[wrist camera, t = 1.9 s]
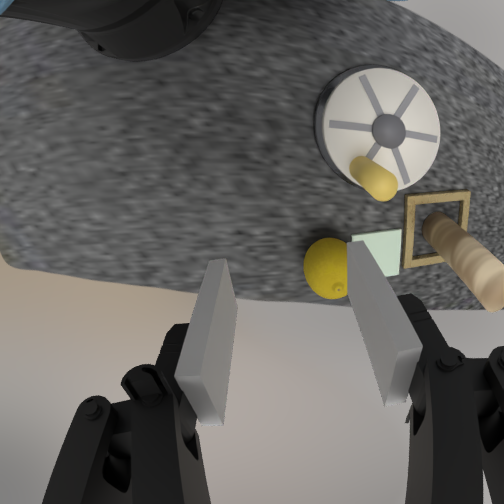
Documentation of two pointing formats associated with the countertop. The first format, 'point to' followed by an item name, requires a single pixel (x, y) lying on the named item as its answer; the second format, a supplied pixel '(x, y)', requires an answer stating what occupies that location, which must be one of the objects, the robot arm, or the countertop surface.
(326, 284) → the lemon
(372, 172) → the handwheel
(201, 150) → the countertop surface
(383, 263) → the coaster
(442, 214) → the dowel
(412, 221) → the square gold frame
